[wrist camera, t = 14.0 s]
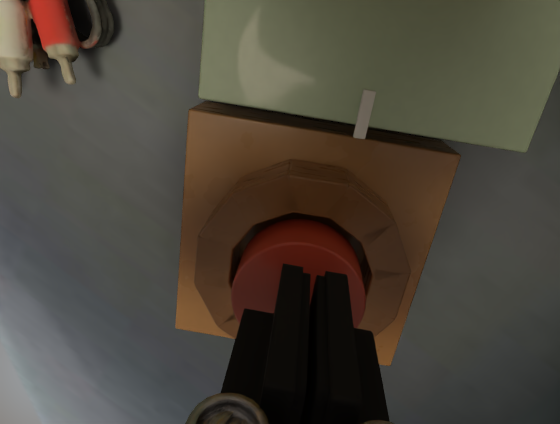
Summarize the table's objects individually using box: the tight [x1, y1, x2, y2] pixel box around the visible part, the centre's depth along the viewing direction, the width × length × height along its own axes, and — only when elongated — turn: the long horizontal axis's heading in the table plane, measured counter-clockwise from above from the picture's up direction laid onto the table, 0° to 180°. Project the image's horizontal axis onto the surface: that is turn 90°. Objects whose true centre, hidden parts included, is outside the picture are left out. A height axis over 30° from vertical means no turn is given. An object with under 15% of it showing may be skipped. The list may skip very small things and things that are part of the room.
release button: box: [231, 219, 366, 328], centre depth 13 cm, size 4×4×2 cm
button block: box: [176, 101, 461, 366], centre depth 15 cm, size 9×9×4 cm
